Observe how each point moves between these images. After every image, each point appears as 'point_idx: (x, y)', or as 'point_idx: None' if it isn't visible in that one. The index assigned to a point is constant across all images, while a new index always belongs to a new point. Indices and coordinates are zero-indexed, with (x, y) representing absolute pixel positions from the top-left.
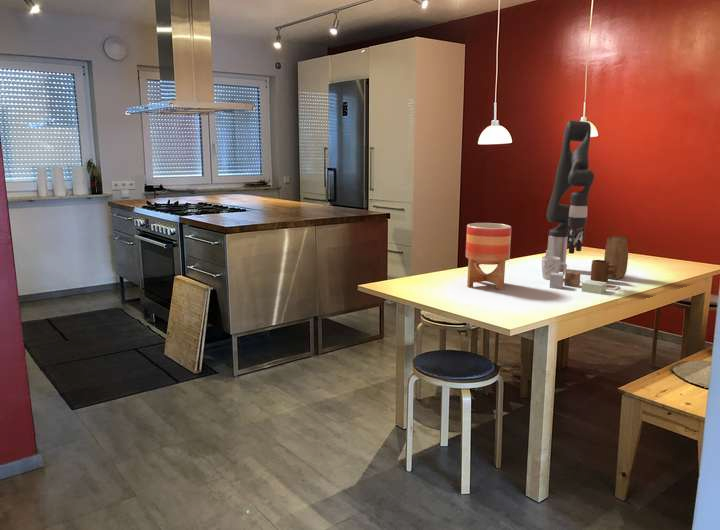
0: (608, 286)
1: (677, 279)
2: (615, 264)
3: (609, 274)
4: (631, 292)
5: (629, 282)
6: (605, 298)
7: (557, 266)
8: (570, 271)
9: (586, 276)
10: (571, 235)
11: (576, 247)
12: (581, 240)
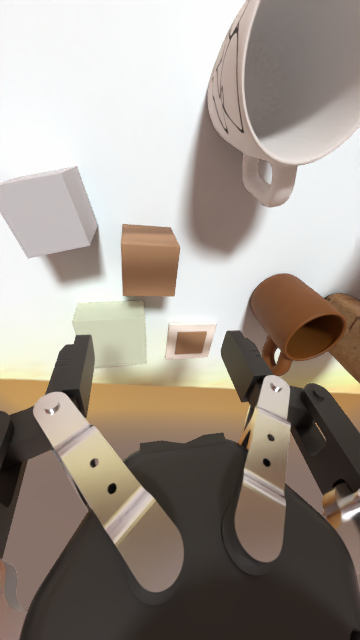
0: (179, 345)
1: (343, 390)
2: (333, 353)
3: (267, 338)
4: (168, 381)
5: None
6: (47, 369)
7: (246, 152)
8: (170, 255)
9: (339, 242)
10: (106, 501)
11: (236, 348)
12: (245, 428)
